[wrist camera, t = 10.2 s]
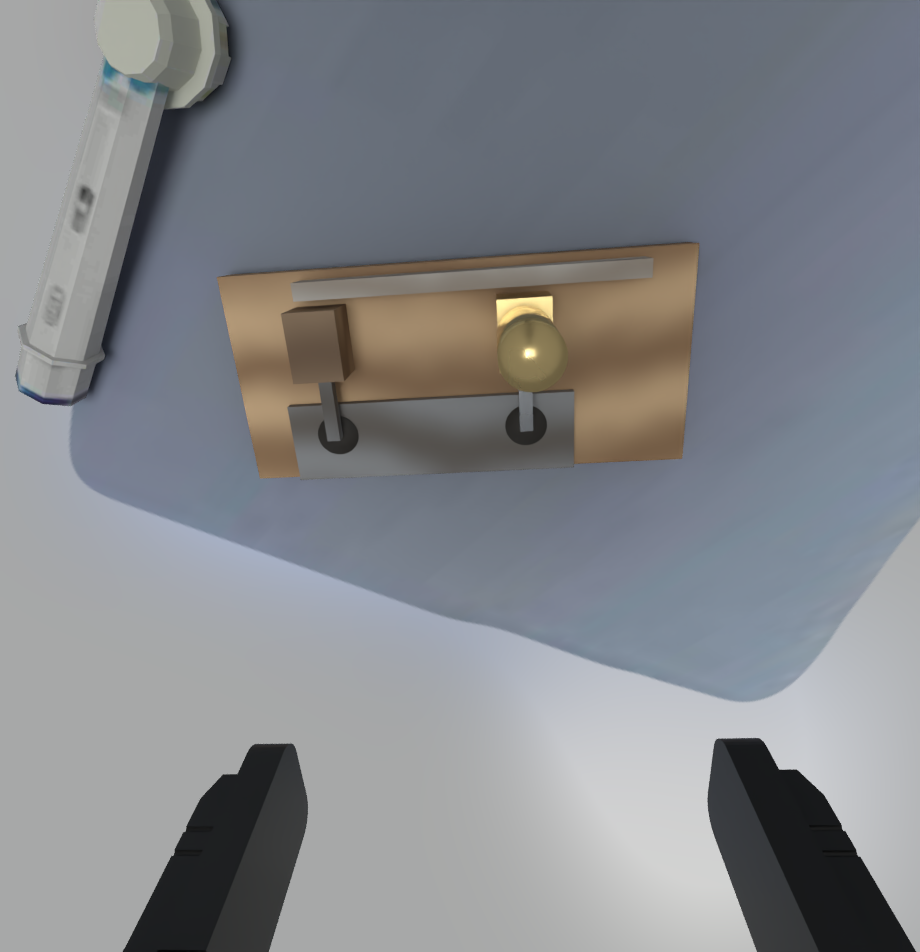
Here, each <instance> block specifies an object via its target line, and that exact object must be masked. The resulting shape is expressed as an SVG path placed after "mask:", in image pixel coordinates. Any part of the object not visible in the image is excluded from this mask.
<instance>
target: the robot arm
mask: <svg viewBox="0 0 920 952" xmlns="http://www.w3.org/2000/svg"><path fill="white" fill-rule="evenodd" d="M708 811H709V817H710V822H711V826H712V830H713V833H714V836H715V839H716V842H717V844H718V847H719V850H720V853H721V855H722V858H723V860H724V863H725V866H726V869H727V871H728V874H729V877H730V879H731V882H732V885H733V888H734V890H735V893H736V896H737V899H738V901H739V904H740V907H741V909H742V912H743V915H744V917H745V920H746V923H747V925H748V928H749V931H750V934H751V936H752V939H753V942H754V945H755V947H756V950H757V952H916V951H915V949H914V948H913V946H912V944H911V942H910V940H909V939H908V937H907V936H906V934H905V932H904V930H903V929H902V927H901V925H900V923H899V922H898V920H897V919H896V917H895V915H894V913H893V912H892V910H891V908H890V907H889V905H888V903H887V901H886V900H885V898H884V896H883V895H882V893H881V891H880V890H879V888H878V886H877V885H876V883H875V881H874V879H873V878H872V876H871V875H870V872H869V871H868V869H867V867H866V866H865V864H864V862H863V861H862V859H861V857H858V855H857V852H856V849H855V847H854V846H853V844H852V842H851V840H850V838H849V837H848V835H847V833H846V832H845V831H843V830H842V825H841V823H840V822H839V820H838V818H837V817H836V815H835V813H834V811H833V810H832V808H831V806H830V804H829V803H828V801H827V799H826V798H825V796H824V795H823V794H822V793H821V792H820V791H819V790H818V789H817V788H816V787H815V786H814V785H813V784H812V783H811V782H809V781H808V780H807V779H806V778H805V777H804V776H803V775H802V774H801V773H800V772H799V771H798V770H779V769H778V767H777V765H776V763H775V761H774V759H773V758H772V756H771V754H770V752H769V750H768V748H767V747H766V745H765V743H764V742H763V741H762V740H761V739H759V738H738V739H737V738H736V739H717V740H716V741H715V744H714V750H713V758H712V767H711V774H710V781H709V789H708ZM307 815H308V802H307V795H306V791H305V787H304V782H303V778H302V774H301V770H300V765H299V761H298V756H297V752H296V749H295V746H294V745H293V744H255V745H253V746H252V747H251V748H250V749H249V751H248V753H247V755H246V757H245V759H244V761H243V763H242V766H241V768H240V770H239V772H238V774H230V775H222V776H221V778H219V779H218V781H217V782H216V783H215V784H214V785H213V786H212V787H211V788H210V789H209V790H208V791H207V792H206V793H205V795H203V797H202V798H201V799H200V801H199V803H198V805H197V807H196V809H195V811H194V813H193V814H192V816H191V819H190V820H189V822H188V824H187V826H186V827H187V828H186V832H184V833H183V834H182V837H181V838H180V840H179V842H178V844H177V846H176V848H175V853H174V856H171V858H170V860H169V862H168V864H167V866H166V868H165V870H164V872H163V874H162V876H161V878H160V880H159V882H158V884H157V886H156V888H155V890H154V892H153V894H152V896H151V898H150V900H149V902H148V904H147V906H146V908H145V910H144V912H143V914H142V916H141V918H140V919H139V921H138V924H137V925H136V927H135V929H134V931H133V933H132V935H131V937H130V939H129V941H128V943H127V945H126V947H125V949H124V950H123V952H269V949H270V945H271V942H272V939H273V936H274V932H275V929H276V926H277V923H278V919H279V916H280V912H281V909H282V906H283V903H284V900H285V896H286V893H287V890H288V886H289V883H290V880H291V877H292V873H293V870H294V867H295V863H296V860H297V857H298V854H299V850H300V847H301V844H302V840H303V837H304V833H305V829H306V824H307Z"/></svg>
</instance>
